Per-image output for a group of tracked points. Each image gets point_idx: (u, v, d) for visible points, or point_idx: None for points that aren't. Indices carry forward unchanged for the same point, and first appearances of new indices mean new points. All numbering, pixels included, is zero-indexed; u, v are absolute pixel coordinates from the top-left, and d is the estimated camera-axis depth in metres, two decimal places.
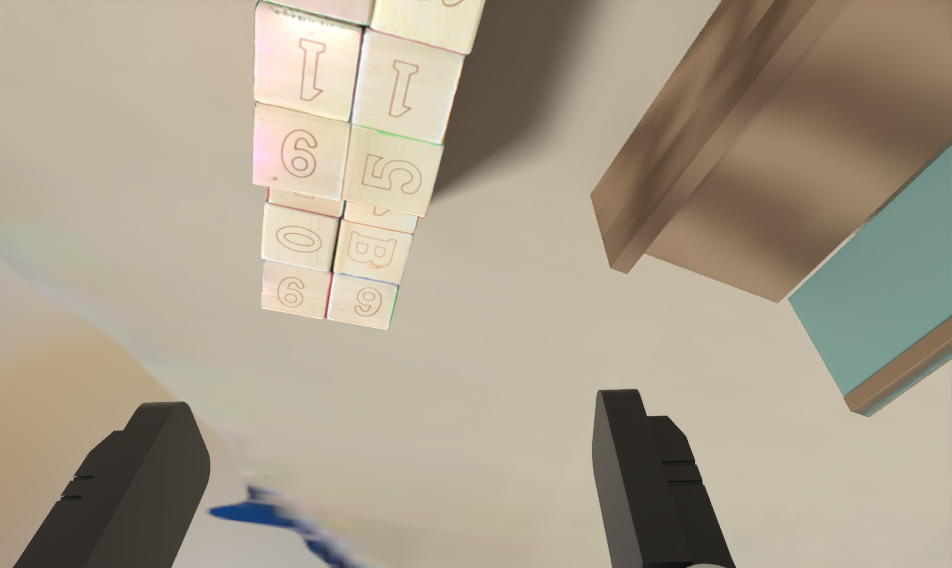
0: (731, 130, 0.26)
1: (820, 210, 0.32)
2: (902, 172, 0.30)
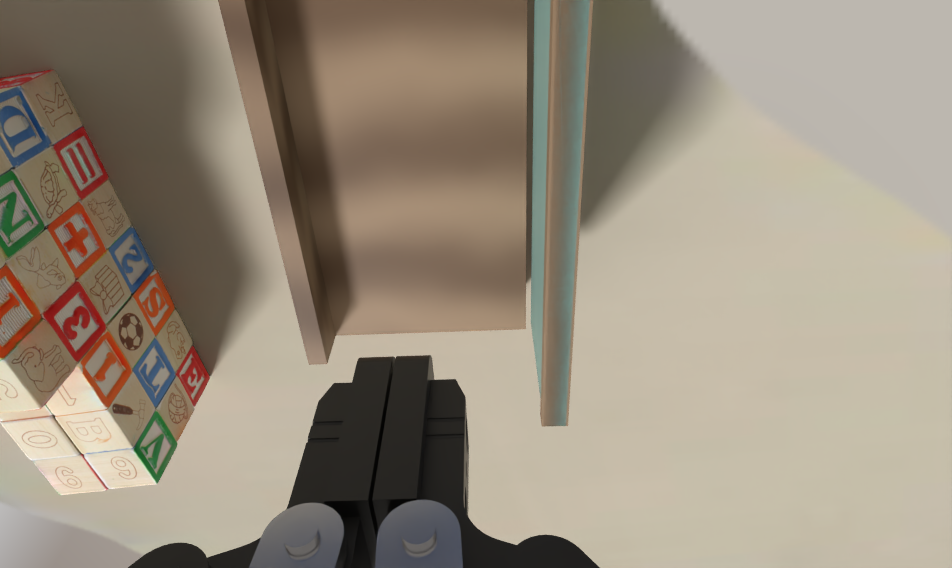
0: (287, 227, 0.29)
1: (476, 240, 0.33)
2: (514, 179, 0.31)
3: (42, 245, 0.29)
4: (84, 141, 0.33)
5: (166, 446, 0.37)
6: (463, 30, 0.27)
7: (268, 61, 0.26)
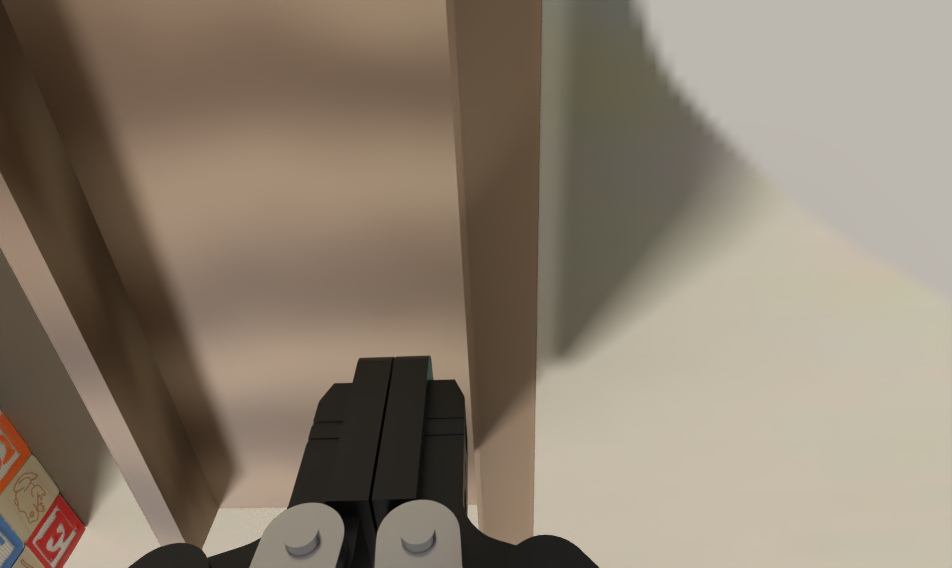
0: (104, 405, 0.19)
1: None
2: (451, 326, 0.21)
3: None
4: None
5: None
6: (355, 123, 0.17)
7: (41, 173, 0.16)
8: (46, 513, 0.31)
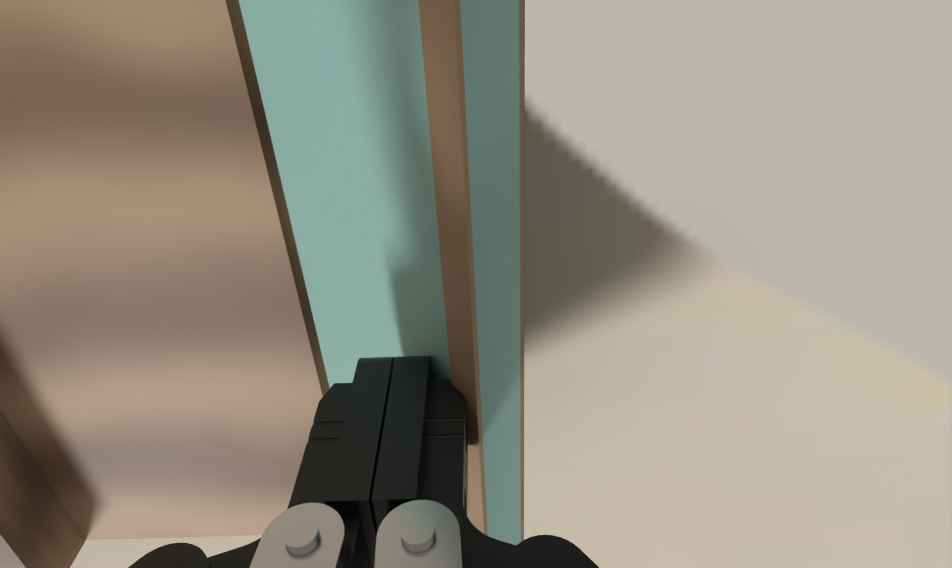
0: None
1: (255, 429, 0.22)
2: (293, 354, 0.20)
3: None
4: None
5: None
6: (154, 147, 0.16)
7: None
8: None
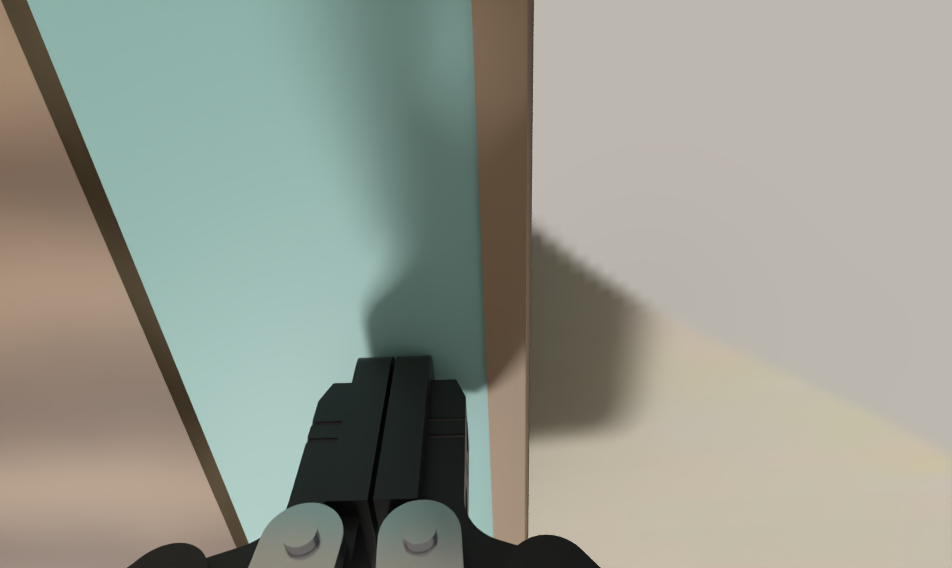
0: None
1: (139, 527, 0.19)
2: (171, 448, 0.17)
3: None
4: None
5: None
6: None
7: None
8: None
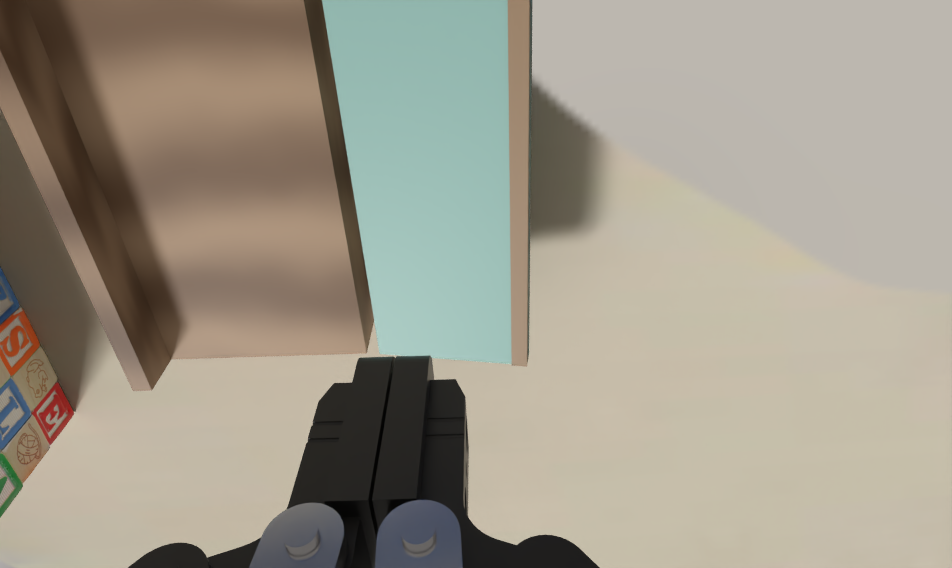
0: (81, 252, 0.28)
1: (298, 263, 0.31)
2: (327, 201, 0.29)
3: None
4: None
5: (8, 489, 0.37)
6: (245, 49, 0.26)
7: (37, 81, 0.25)
8: (47, 393, 0.40)
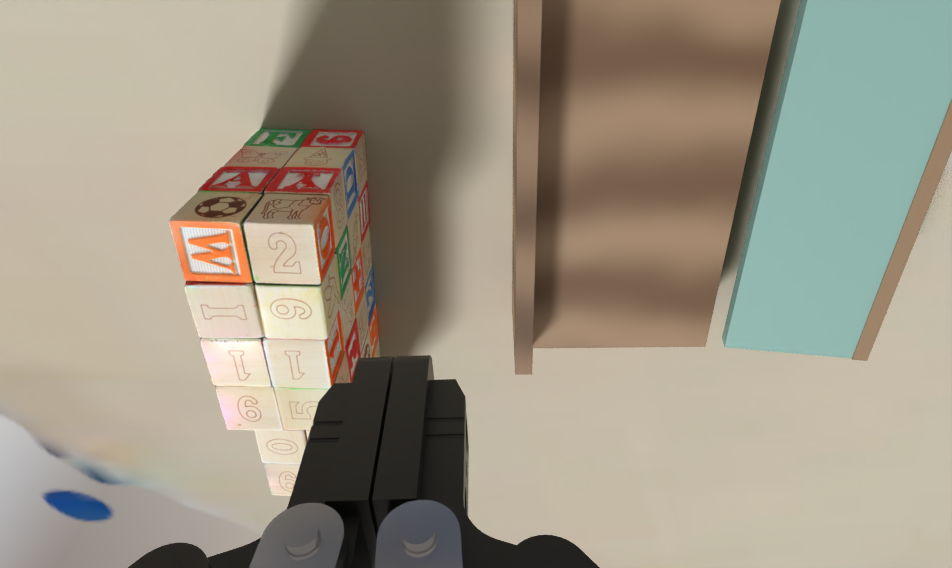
0: (527, 251, 0.33)
1: (677, 265, 0.36)
2: (723, 212, 0.34)
3: (349, 287, 0.34)
4: (365, 192, 0.38)
5: None
6: (705, 83, 0.30)
7: None
8: None
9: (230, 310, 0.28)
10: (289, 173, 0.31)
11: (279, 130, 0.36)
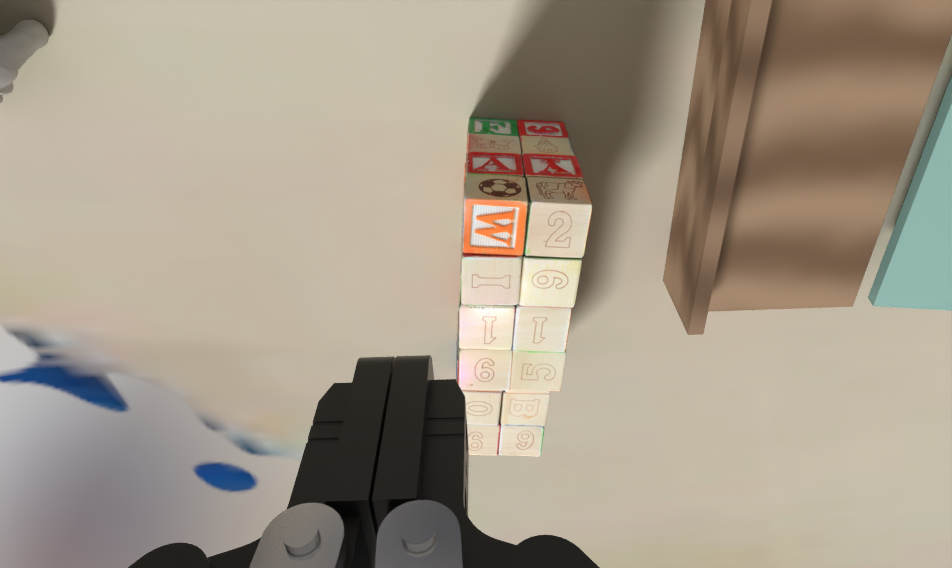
0: (719, 220, 0.36)
1: (839, 231, 0.40)
2: (888, 182, 0.38)
3: None
4: None
5: None
6: (890, 64, 0.34)
7: None
8: None
9: (497, 280, 0.32)
10: (531, 159, 0.34)
11: (488, 120, 0.39)
